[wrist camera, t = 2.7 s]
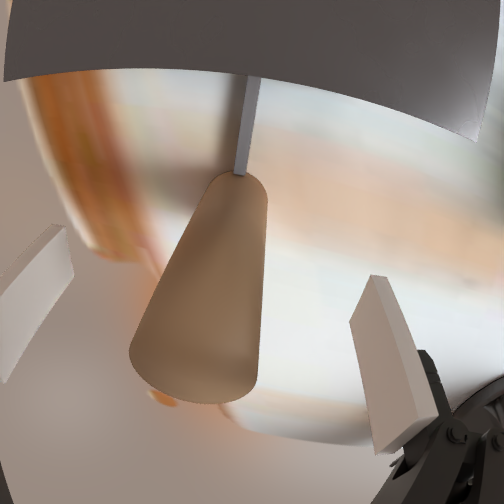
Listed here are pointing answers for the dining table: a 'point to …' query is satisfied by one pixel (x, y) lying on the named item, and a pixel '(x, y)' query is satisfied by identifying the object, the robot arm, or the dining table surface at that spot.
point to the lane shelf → (280, 46)
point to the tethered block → (211, 290)
